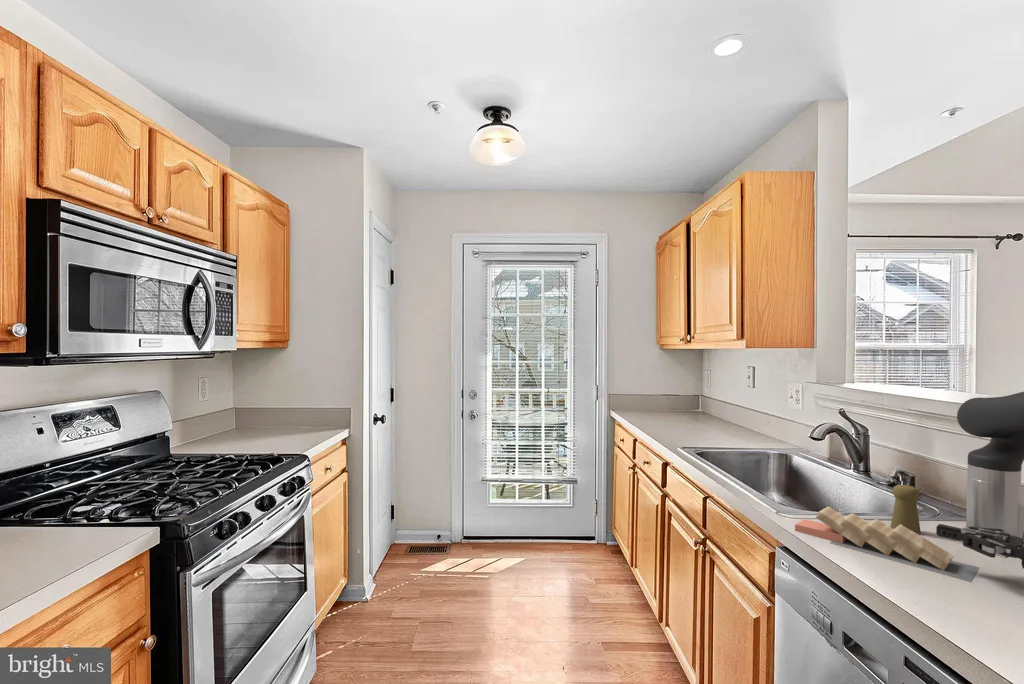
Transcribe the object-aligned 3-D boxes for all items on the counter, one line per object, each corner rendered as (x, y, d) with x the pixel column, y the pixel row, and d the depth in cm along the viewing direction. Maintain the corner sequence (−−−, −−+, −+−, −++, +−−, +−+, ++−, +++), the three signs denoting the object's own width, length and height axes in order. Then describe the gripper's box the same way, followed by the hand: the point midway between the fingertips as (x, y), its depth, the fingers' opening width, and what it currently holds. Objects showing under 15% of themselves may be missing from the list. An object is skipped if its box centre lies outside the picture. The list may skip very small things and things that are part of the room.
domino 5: (954, 556, 107) (900, 524, 114) (948, 563, 103) (892, 530, 110) (949, 562, 107) (896, 530, 114) (943, 570, 103) (888, 537, 110)
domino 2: (873, 534, 117) (828, 506, 124) (865, 540, 113) (819, 511, 120) (869, 540, 118) (824, 512, 125) (861, 547, 114) (815, 517, 121)
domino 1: (851, 529, 121) (804, 519, 128) (842, 535, 117) (794, 524, 124) (851, 537, 120) (804, 526, 128) (842, 543, 117) (795, 532, 124)
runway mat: (979, 569, 105) (979, 567, 105) (970, 583, 99) (970, 581, 99) (844, 534, 123) (844, 533, 123) (829, 544, 117) (829, 543, 117)
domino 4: (926, 549, 110) (876, 518, 117) (920, 556, 106) (867, 524, 113) (922, 555, 111) (872, 525, 117) (915, 563, 107) (863, 531, 114)
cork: (926, 536, 123) (927, 490, 123) (897, 534, 124) (898, 488, 124) (912, 527, 129) (913, 483, 129) (885, 525, 130) (885, 481, 130)
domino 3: (900, 542, 114) (852, 512, 120) (892, 549, 110) (843, 518, 116) (895, 548, 114) (848, 519, 121) (888, 555, 110) (839, 524, 117)
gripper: (1062, 528, 98) (944, 504, 111) (1058, 545, 89) (930, 517, 102) (1061, 567, 98) (943, 540, 111) (1057, 588, 89) (929, 556, 102)
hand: (937, 529), depth 106 cm, fingers closed
